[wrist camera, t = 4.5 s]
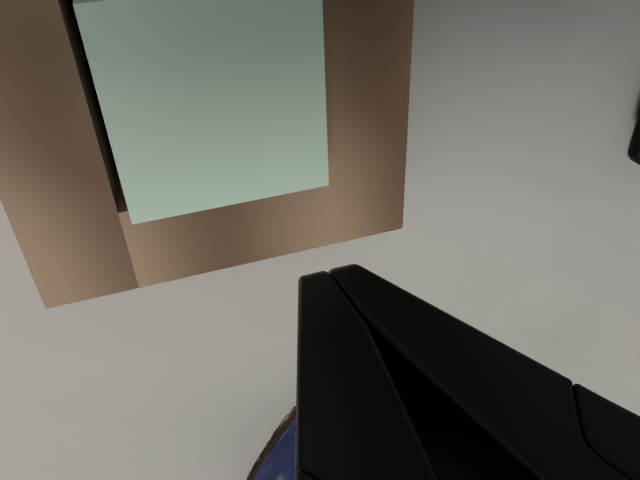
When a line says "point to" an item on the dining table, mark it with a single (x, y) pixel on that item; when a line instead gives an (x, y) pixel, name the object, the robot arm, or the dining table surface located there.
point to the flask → (278, 454)
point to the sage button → (209, 99)
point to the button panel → (203, 226)
